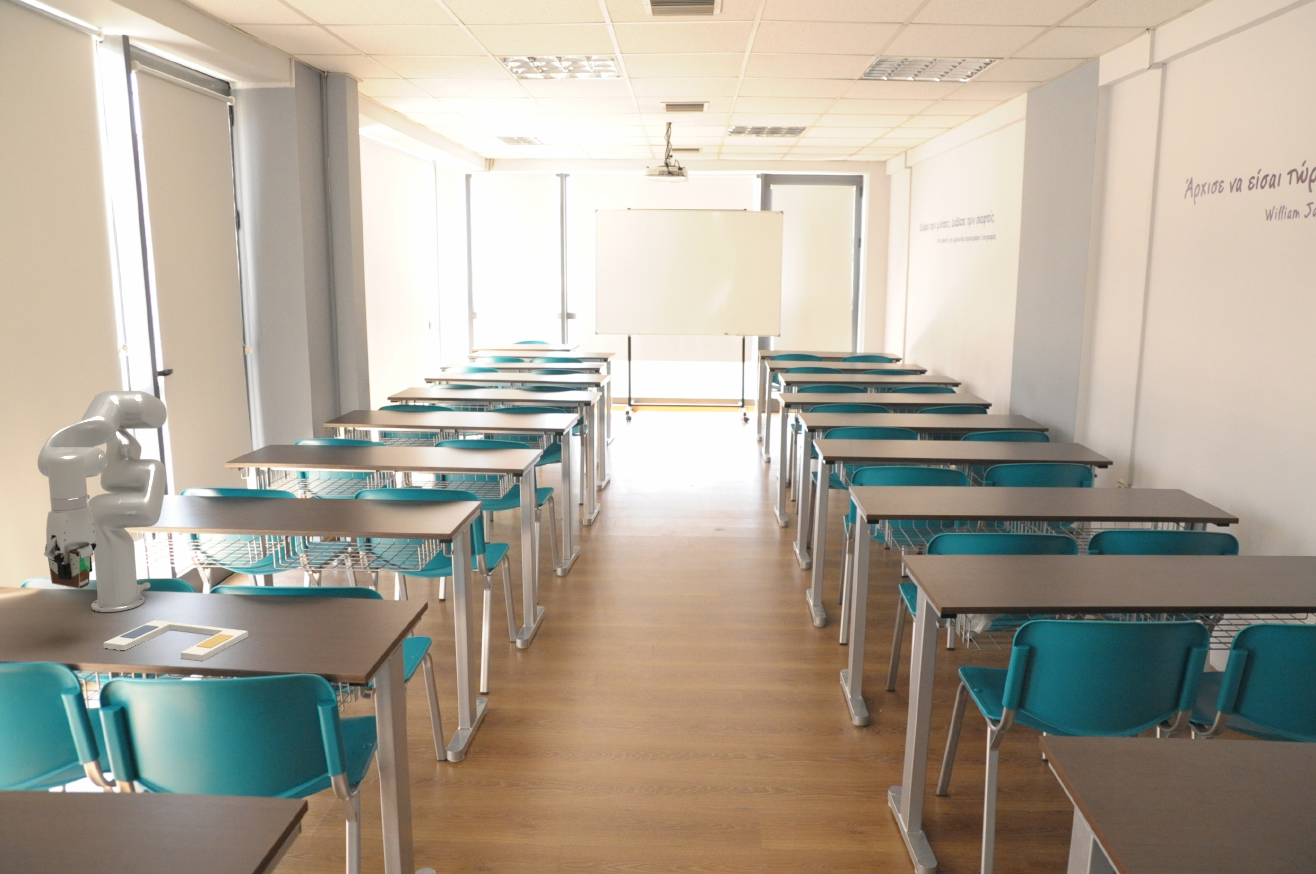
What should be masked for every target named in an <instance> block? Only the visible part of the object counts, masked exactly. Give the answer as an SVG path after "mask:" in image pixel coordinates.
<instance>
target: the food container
mask: <svg viewBox="0 0 1316 874" xmlns="http://www.w3.org/2000/svg"><path fill="white" fill-rule="evenodd" d="M44 547H45V548H44V552H45V551H46V549H47V543H45V546H44ZM54 553H55V554H56V551H54ZM92 553H94V551H93V549H92V546H91V545H90V543H88V545H87V546H85V547H82V548H78V549H75V550H72V551H70V552H69V558H68V563H69V564H70V567H71V579H70V580H64V579H59V578H58V568H57V564H55V563H54V561H52V560H51V559H50V558H48V557H47V561H48V567H49V574H50V579H51V580H50V581H51V584H53V585H57V586H62V587H67V588H73V589H77V590H81V589H84V588H86V587H88V586H89V584H90V577H91V576H90V573H91V572H90V555H91V554H92ZM61 557H62V558H63V553H62V554H61Z"/></svg>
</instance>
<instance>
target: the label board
mask: <svg viewBox="0 0 1316 874" xmlns="http://www.w3.org/2000/svg"><path fill="white" fill-rule="evenodd" d="M168 631H177V632H187V633H192V634H193V633H195V634H201V635H210V637H208V638H205V639H204V640H202V641H201V642H199V643H196V644H193V645H192V646H190V647H189V648H187V649H184V650H182V651H180V659H183V660H190V661H191V660H192V661H197V662H198V661H199V662H203V661H206V660H208V659H209V658H212V657H214V655H217V654H218V653H221V652H222V651H224V650H226V649H228V648H230V647H232V646H233V645H236V644H237V643H239V642H240V641H241V642H242V641H243V640H244V639H247V638H249V630H243V629H232V628H224V627H218V626H217V627H216V626H208V625H207V626H206V625H201V624H200V625H199V624H191V623H183V622H176V621H175V622H174V621H166V620H158V619H154V620H151V621H149V622H146V623H144V624H142V625H139V626H137V627H136V628H133V629H131V630H129V631H127V632H124V633H122V634H120V635H117V636H115V637H113V638H111V639H109V640H107V641H104V642H103V649H105V648H108V650H113V649H116V651H120V650H126V651H128V650H129V648H130V649H132V648H134V647H136V646H138V645H137V644H139V643H141V642H143V641H145V642H146V641H149V640H151V639H153V638H152V637H154V638H156V637H157V636H156V635H158V636H160V635H162V634H164V633H166V632H168ZM161 633H162V634H161ZM159 634H160V635H159ZM155 636H156V637H155ZM150 638H151V639H150ZM148 639H149V640H148ZM143 643H144V642H143ZM141 644H142V643H141ZM135 645H136V646H135ZM139 645H140V644H139ZM133 646H134V647H133ZM131 647H132V648H131ZM127 649H128V650H127Z"/></svg>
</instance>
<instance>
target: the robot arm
mask: <svg viewBox="0 0 1316 874" xmlns="http://www.w3.org/2000/svg"><path fill="white" fill-rule="evenodd" d="M167 417H168V412H167V408H166V406H165V404H164V402H163V401H162V400H161V399H160V398H158V397H156V396H154V395H152V394H150V393H148V392H146V391H142V390H108V391H107V390H106V391H103V392H100V393H97V394H96V395H95V396H94V398H93V399H92V401H91V402H90V403H89V406H88V407H87V409H86V411H85V412H84V414H83V416H82V418H81V420H79V421H78V420H77V421H76V422H74V423H71V424H69V425H67V426H65V427H64V428H61V429H60V430H57V431H56V432H54V433H53V434H51V435H50V436H49V437H48V439H47V440H46V442H44V445H43V446H42V448H41V449H40V451H39V454H38V456H37V457H38V458H37V469H38V471H39V472H40V474H41V475H43V476H44V477H47V478H48V486H49V497H50V498H49V501H50V510H51V511H48V515H47V518H46V527H45V529H46V533H45V534H46V544H47V549H46V551H45V550H44V553H43V555H44V556H45V557H47V559H48V558H50V559H51V560H52V561H54V563H55V564H57V568H58V578H59V579H64V580H70V579H71V567H70V564H69V563H68V558H69V552H70V551H72V550H75V549H78V548H82V547H85V546H87V545H88V543H90V545H91V546H92V549H93V553H92V554H91V555H90V573H92V572H93V562H92V561H93V560H92V556H93V557H94V570H95V581H96V592H97V593H96V594H97V599H96V600H94V601H93V602H92V603H90V604H91V610H93V611H94V610H95V612H98V611H99V612H100V613H115V612H121V611H127V610H131V609H134V608H138V607H139V606H141V605H142V604H144V603H145V600H146V599H145V596H144V595H142V594H141V593H142V592H143V591H145V590H148V589H150V588H151V583H150V582H149V581H147V582H143V583H141V584H139V583H138V580H137V566H136V552H135V549H136V548H135V542H134V539H133V537H132V536H131V534H130V533H129V532H128V530H126V529H129V528H132V529H133V528H149V527H153V526H155V525H156V524H157V523H158V522H159V520H160V517H161V513H162V508H163V502H164V498H165V497H164V496H165V491H166V490H165V489H166V484H167V471H166V470H167V469H166V467H165V464H164V463H163V462H162V461H160V460H158V459H152V458H141V454H142V446H141V443H140V442H139V441H138V440H137V439H136V438H135V436H133V435H132V434H131V433H130V432H129V431H128V430H129V429H130V430H131V429H132V430H134V429H135V430H136V429H142V430H144V429H147V430H148V429H159V428H161V427H163V426H164V424H165V423H166V421H167ZM103 444H105V445H106V451H105V452H104V450H102V449H101V448H99V447H98V446H101V445H103ZM99 475H100V486H101V488H102V489H103V491H105V492H107V493H101V494H97V495H94V496H93V497H90V495H89V494H88V488H87V478H93V477H94V478H95V477H97V476H99ZM54 551H56V554H55V553H54ZM62 553H63V558H62V557H61V554H62Z"/></svg>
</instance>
